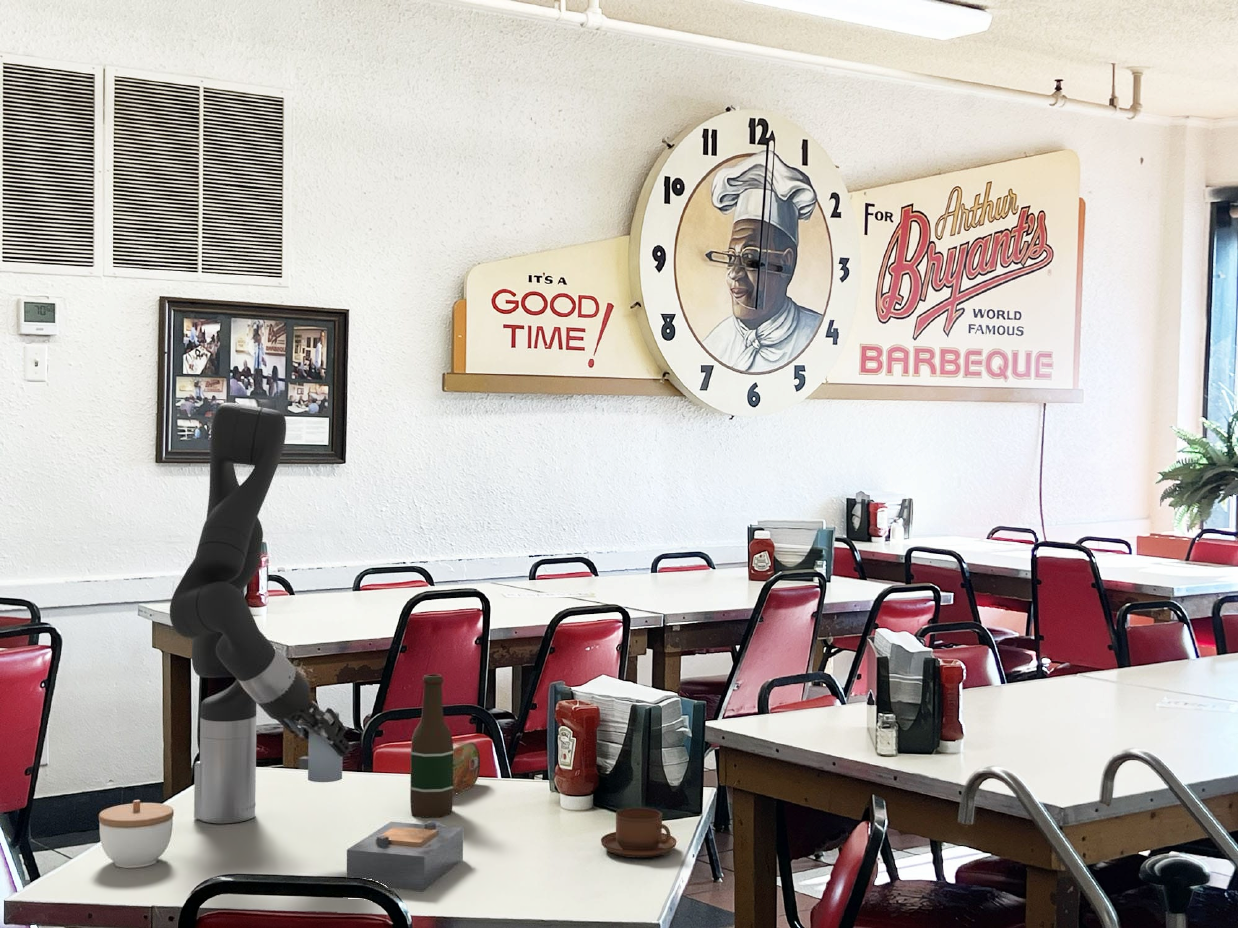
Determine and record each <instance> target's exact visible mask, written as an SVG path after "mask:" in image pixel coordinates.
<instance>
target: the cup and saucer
mask: <svg viewBox="0 0 1238 928" xmlns="http://www.w3.org/2000/svg"><path fill="white" fill-rule="evenodd" d="M662 830H664V831H665V832H663V831H662ZM600 843H601V846H602V847H603V848H604V849H605V850H606V851H608V852H610V853H612V854H615V855H618V856H623V857H629V858H653V857H658V856H662V855H665V854H667V853H670V852H671V851H672V850H673V849H675V847H676V845H677V843H678V842H677V839H676V838H675V837H674V836H673V835H671V831H670V829H669V827H668V826H667V825H666V824H664V823H663V813H662V812H661V811H660V810H658V809H652V808H647V807H627V808H623V809H619V810H617V811H616V812H615V831H614V832H610V833H607V834H605V835H603V836H602V837H601V838H600Z"/></svg>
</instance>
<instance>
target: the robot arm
mask: <svg viewBox="0 0 1238 928" xmlns="http://www.w3.org/2000/svg"><path fill="white" fill-rule="evenodd" d="M286 420H287V419H286V417H285V415H284V413H283V412H281V411H279V410H277V409H272V408H266V407H261V406H256V405H250V404H249V405H248V404H242V403H235V402H223V403H221V404H219V406H217V408H216V409H215V412H214V414H213V418H212V422H211V430H210V446H209V448H210V449H209V450H210V451H209V454H210V455H209V490H208V491H209V492H208V503H207V511H206V512H207V513H206V520H205V522H204V523H203V527H202V529H201V534H200V538H199V540H198V545H197V548H196V553H195V557H194V559H193V561H192V562H191V563H190V565H189V566H188V567H187V569H186V570H185V572H184V574H183V576H182V578H181V579H180V581H179V583H178V585H177V586H176V588H175V590H174V593H173V595H172V597H171V600H170V601H171V602H170V604H169V605H170V606H169V619H170V623H171V625H172V628H173V629H174V630H175V632H176V633H177V634H179V636H181V637H184V638H188V639H193V640H192V645H191V663H192V668H193V671H194V672H195V674H196V675H197V676H199V677H200V678H230V677H231V678H233V677H234V678H235V679H236V680H235V681H234V682H233V684H232V685H230V686H229V687H227V688H226V689H224V690H223V691H220V692H218V693H216V694H214V695H211V696H209V697H206V698H205V699H204V700H202V701H201V704H200V714H199V715H200V716H199V717H200V719H199V720H200V723H199V725H200V726H199V727H200V728H199V730H200V732H199V740H200V741H199V761H198V760H197V761H196V762H195V763H194V784H193V785H194V786H193V787H194V797H193V799H194V803H193V819H195V820H200V821H202V822H204V823H209V824H210V823H211V824H234V823H240V822H244V821H248V820H250V819H253V818H254V817H255V815H256V785H257V784H256V783H257V782H256V781H257V780H256V778H257V776H256V774H257V773H256V771H257V706H259V707H260V708H261V709H262V711H264V712H265V714H267V715H268V716H269V718H271V719H272V720H276V721H277V722H278V723H280V724H281V725H282V726H283V727H284V728H285V729H286V730H287V731H288V732H289V733H290V734H291V735H296V734H297V735H298V736H299V737H300V738H302V739H305V741H306V742H307V743H309V732H310V733H311V734H313V735H314V736H315V737H318V736H320V737H321V738H323V739H324V740H325V741H326V742H327V743H329V745H330V746H331V747H332V748H333V749H334V750H335V751H336V752H337V753H338V754H339V755H340V756H341V757H342V758H346V757H347V756H348V754H349V753H350V751H351V750H352V744H351V743H349V741H348V740H347V739H346V738H345V737H344V735H345V733H346V732H347V728H346V726H345V725H344V723H343V724H342V723H341V721H342V720H340V717H339V718H338V717H337V715H336V714H335V712H336V711H334V710H333V709H332V708H330V707H327V708H326V709H325V711H323V709H321V708H320V706H319V704H318V703H316V702H315V701H314V700H312V699H310V697H311V685H310V683H309V681H308V680H307V679H306V678H305V677H304V676H303V675H302V673H301V672H300V671H299V670H298V669H297V668H296V667H295V665H294V664H293V663H292V662H290V660H289V659H288V658H287V657H286V656H285V655H284V653H282V652H281V651H280V650H278V649H277V648H276V647H275V646H274V645H273V644H272V643H271V641H269V640H268V639H267V637H266V636H265V635H264V634H263V633H262V631H260V629H259V627H258V625H257V623H256V620H255V617H254V616H253V613H252V611H251V610H250V607H249V605H248V602H247V600H246V598H245V596H244V594H242V593H243V592H242V591H243V590H244V589H245V588H246V587H247V586H248V584H249V583H250V582H251V581H252V579H253V578H254V577H255V575H256V573H257V572H258V570H259V567H260V565H261V558H262V550H263V549H262V548H263V538H264V530H263V527H262V524H261V521H260V519H259V517H258V516H259V513H260V511H261V508H262V506H263V504H264V503H265V499H266V497H267V494H268V492H269V489H270V486H271V484H272V481H273V478H274V476H275V474H276V472H277V469H278V465H279V464H280V461H281V458H282V454H283V450H284V447H285V442H286V435H287V421H286ZM234 463H235V464H242V465H246V466H254V467H253V469H252V471H251V472H250V473H249V475H248V477H247V478H246V479H245V480H244V481H243V482H242V483H241V484H239V481H238V479H237V473H236V470H235V466H234ZM318 723H319V727H318V729H317V730H316V729H314V728H315V727H316V726H317V725H318ZM324 731H325V732H326V733H327V735H326V734H325V733H324Z"/></svg>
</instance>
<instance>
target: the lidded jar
mask: <svg viewBox="0 0 1238 928" xmlns="http://www.w3.org/2000/svg"><path fill="white" fill-rule="evenodd" d="M174 810H175V809H174V808H173V806H170V805H168V804H164V803H159V802H158V803H157V802H141V800H140V799H134V800H133V801H132V803H126V804H120V805H119V804H118V805H114V806H111V807H108V808H105V809H103V810H101V811H100V812H99V814H98V821H99V837H100V843H101V846H102V847H101V848H102V849H103V851H104V853H105V855H106V857H108V858H109V859H110V860H111V861H112V862H113V863H114V866H116V867H118V868H121V869H122V868H124V869H137V868H145V867H149V866H152V865H154V864H156V863H157V862H158V859H159V858H160V857H161V856H162V855H163V854H164V853H165V851H166V850H167V848H168V847H169V844H170V841H171V838H172V832H173V826H174V822H173V821H174V819H173V817H174V815H175V814H174V813H175V812H174Z"/></svg>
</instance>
